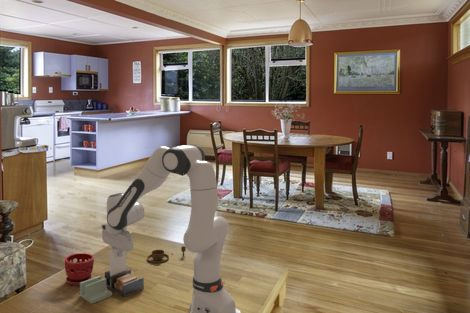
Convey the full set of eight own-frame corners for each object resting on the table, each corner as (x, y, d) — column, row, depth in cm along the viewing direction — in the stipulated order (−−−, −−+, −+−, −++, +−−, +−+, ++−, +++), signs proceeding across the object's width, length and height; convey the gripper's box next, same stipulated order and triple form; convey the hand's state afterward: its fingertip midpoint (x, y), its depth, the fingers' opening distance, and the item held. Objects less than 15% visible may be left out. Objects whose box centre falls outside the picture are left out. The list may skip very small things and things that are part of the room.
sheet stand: (112, 295, 179) (111, 281, 178) (91, 303, 172) (91, 289, 171) (99, 288, 186) (99, 275, 185) (79, 296, 178) (79, 282, 177)
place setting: (153, 253, 231) (153, 243, 230) (186, 255, 228) (186, 246, 227) (142, 265, 213) (142, 255, 213) (178, 268, 211) (178, 258, 210)
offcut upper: (137, 281, 186) (136, 277, 185) (124, 286, 180) (124, 282, 180) (129, 277, 189) (129, 273, 189) (116, 282, 184) (116, 278, 184)
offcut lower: (139, 285, 186) (139, 281, 186) (123, 291, 179) (123, 287, 179) (130, 280, 191) (130, 276, 190) (114, 287, 184) (114, 283, 184)
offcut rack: (143, 288, 186) (143, 273, 185) (123, 297, 178) (123, 281, 177) (124, 279, 196) (124, 264, 194) (105, 286, 187) (104, 271, 186)
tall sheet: (126, 275, 192) (126, 245, 189) (112, 281, 185) (111, 250, 183) (124, 274, 193) (123, 244, 191) (110, 279, 187) (109, 249, 185)
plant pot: (78, 289, 184) (77, 265, 182) (59, 282, 190) (58, 259, 189) (100, 278, 195) (99, 255, 194) (81, 272, 202) (81, 250, 200)
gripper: (136, 230, 182) (136, 259, 183) (110, 221, 194) (111, 248, 196) (124, 233, 177) (125, 263, 179) (99, 224, 190) (100, 252, 191)
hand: (118, 255), depth 188 cm, fingers closed on tall sheet, 2 cm apart
